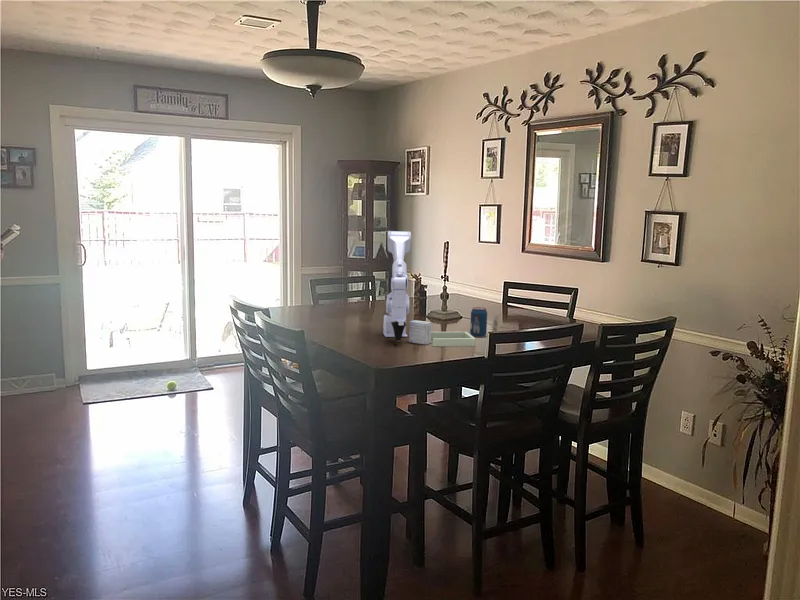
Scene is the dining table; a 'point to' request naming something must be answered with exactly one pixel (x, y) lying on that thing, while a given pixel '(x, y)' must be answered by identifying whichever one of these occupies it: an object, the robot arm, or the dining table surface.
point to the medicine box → (420, 332)
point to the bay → (452, 339)
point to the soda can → (478, 322)
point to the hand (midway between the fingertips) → (398, 340)
